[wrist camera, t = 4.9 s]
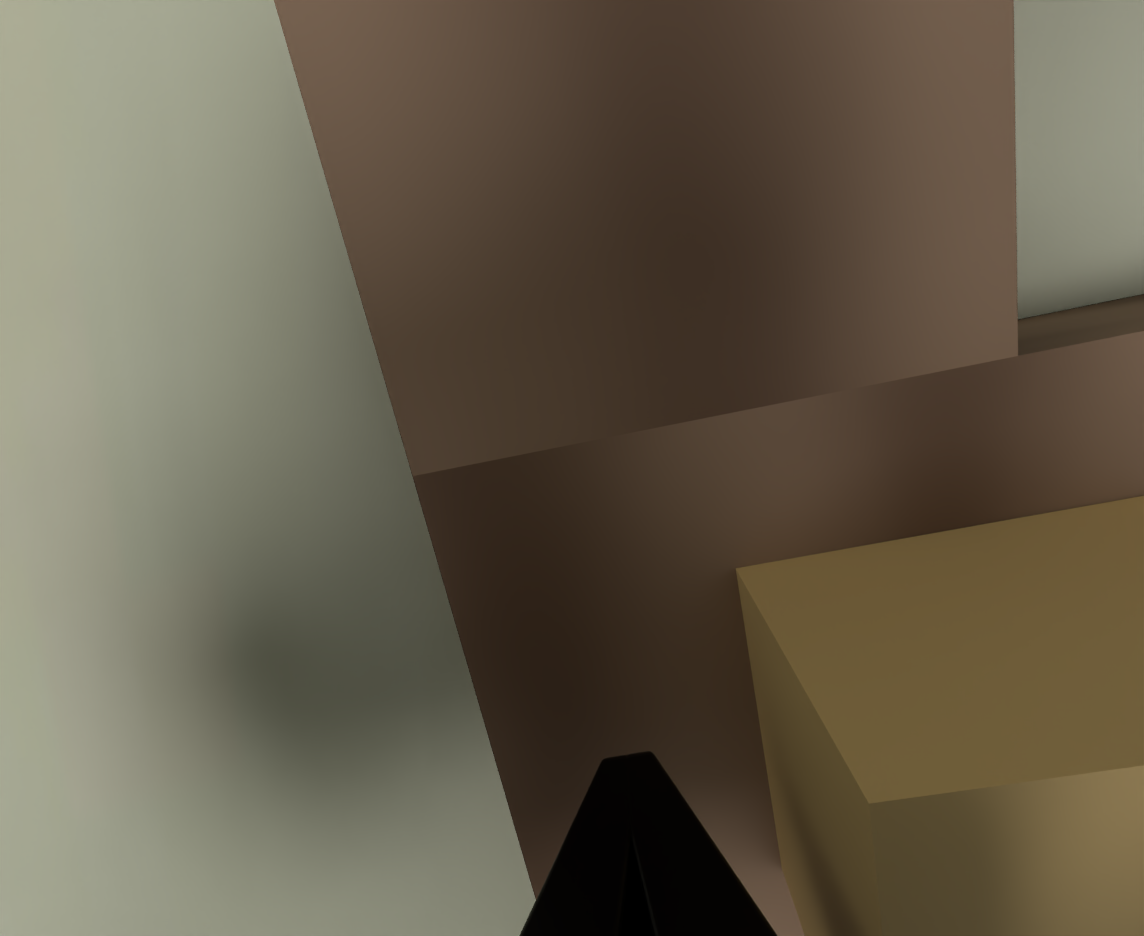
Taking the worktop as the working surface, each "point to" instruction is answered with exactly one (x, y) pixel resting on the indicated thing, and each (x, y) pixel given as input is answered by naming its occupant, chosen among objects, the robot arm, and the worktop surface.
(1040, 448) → the trap board
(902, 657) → the ochre block
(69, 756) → the worktop surface
